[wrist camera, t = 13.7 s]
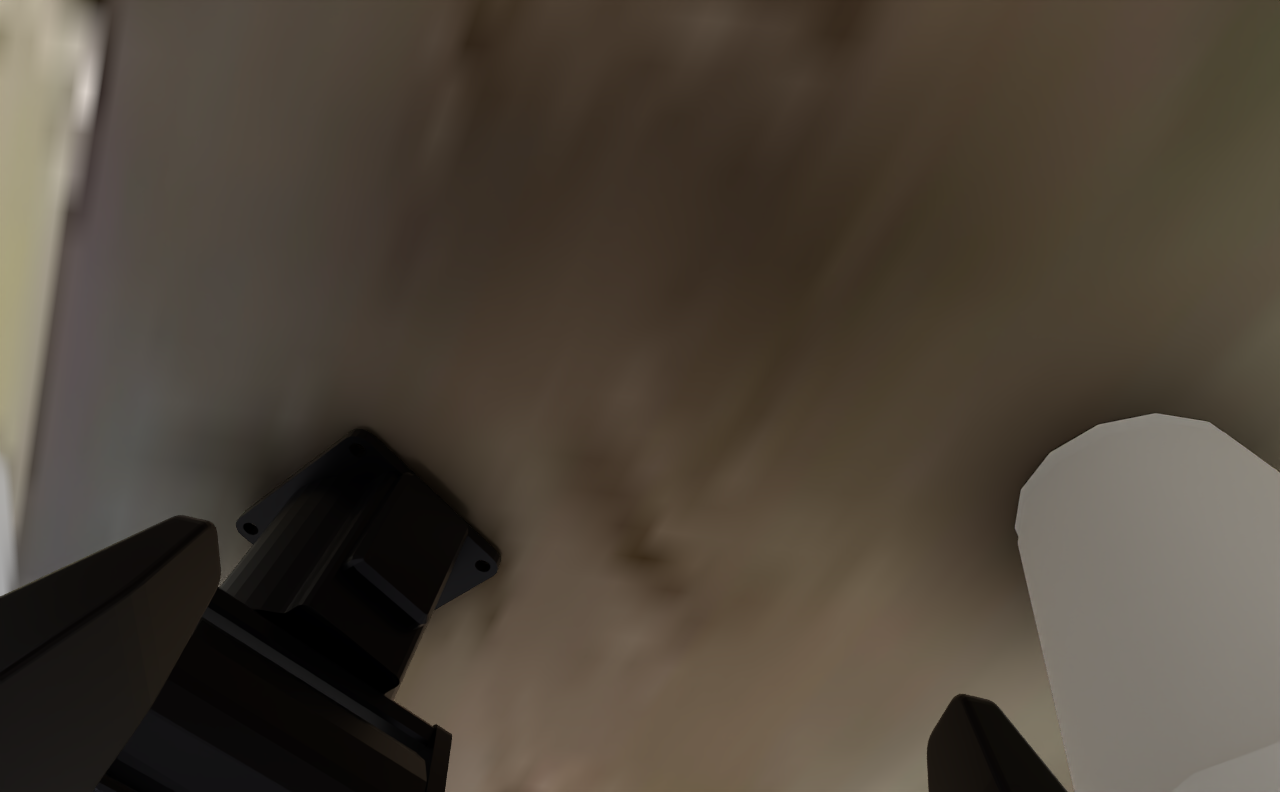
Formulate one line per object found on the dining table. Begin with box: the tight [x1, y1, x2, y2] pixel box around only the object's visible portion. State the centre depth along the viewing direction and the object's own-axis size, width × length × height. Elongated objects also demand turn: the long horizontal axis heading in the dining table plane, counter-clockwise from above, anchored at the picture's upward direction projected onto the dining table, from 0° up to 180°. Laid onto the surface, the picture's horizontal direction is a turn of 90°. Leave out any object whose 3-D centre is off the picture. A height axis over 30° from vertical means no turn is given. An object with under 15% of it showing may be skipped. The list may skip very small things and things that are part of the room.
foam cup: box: [1015, 413, 1280, 792], centre depth 18 cm, size 10×9×13 cm
